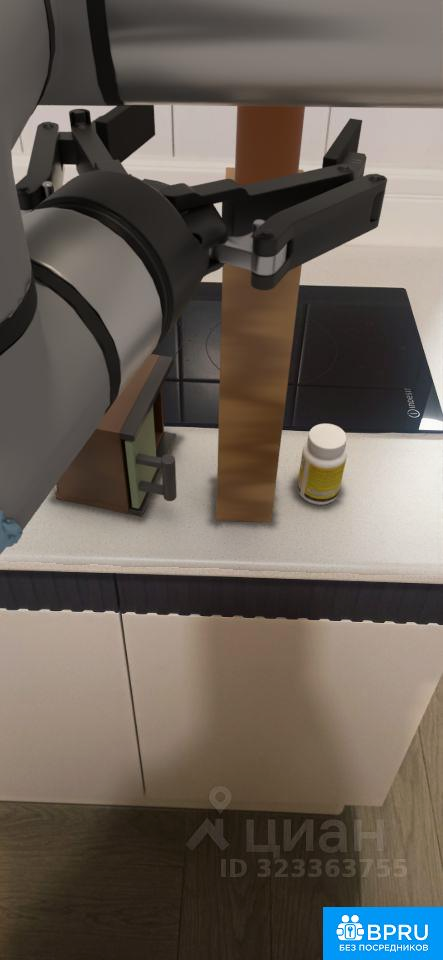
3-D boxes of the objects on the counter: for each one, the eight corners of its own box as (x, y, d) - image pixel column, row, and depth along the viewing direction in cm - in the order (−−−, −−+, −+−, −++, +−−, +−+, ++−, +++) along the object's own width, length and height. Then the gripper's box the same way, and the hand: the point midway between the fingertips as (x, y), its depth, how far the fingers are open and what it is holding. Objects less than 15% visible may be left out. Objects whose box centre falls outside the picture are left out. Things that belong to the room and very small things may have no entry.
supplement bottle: (347, 496, 75) (360, 441, 69) (313, 511, 73) (323, 457, 67) (321, 469, 78) (331, 415, 72) (288, 484, 76) (296, 429, 70)
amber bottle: (306, 180, 50) (326, 9, 42) (280, 203, 47) (296, 24, 39) (251, 167, 51) (260, -1, 43) (223, 188, 48) (227, 14, 41)
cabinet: (176, 438, 81) (173, 357, 72) (142, 516, 72) (134, 435, 64) (99, 423, 83) (87, 343, 74) (56, 499, 74) (37, 417, 65)
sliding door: (191, 474, 75) (189, 408, 68) (174, 516, 71) (171, 450, 64) (150, 466, 76) (145, 400, 69) (132, 507, 72) (124, 441, 65)
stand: (269, 482, 76) (303, 169, 51) (271, 522, 72) (309, 203, 47) (217, 480, 76) (225, 166, 51) (216, 520, 72) (224, 200, 47)
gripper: (-123, 308, 34) (79, 158, 48) (361, 429, 28) (431, 219, 42) (-185, 154, 28) (63, 35, 42) (398, 265, 23) (464, 86, 37)
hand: (247, 126), depth 42 cm, fingers open, 13 cm apart
